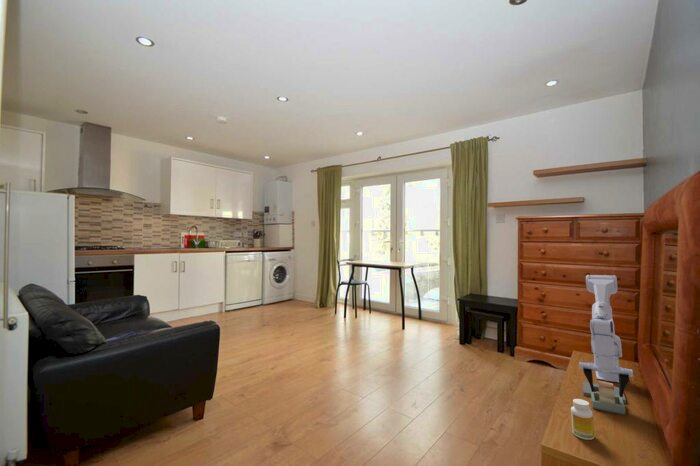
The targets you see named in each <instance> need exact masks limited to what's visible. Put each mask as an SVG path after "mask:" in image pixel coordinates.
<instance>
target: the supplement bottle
mask: <svg viewBox="0 0 700 466" xmlns="http://www.w3.org/2000/svg"><path fill="white" fill-rule="evenodd" d="M572 404H573V406H571V407H570V418H571V432H572V434H573V435H574V436H576V437H577V438H579V439H582V440H587V441H591V440H594V438H595V427H594V413H593V411H592V410H591V408H590V403H589V401H587V400H584V399H583V398H582V399H581V398H573V400H572Z"/></svg>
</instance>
